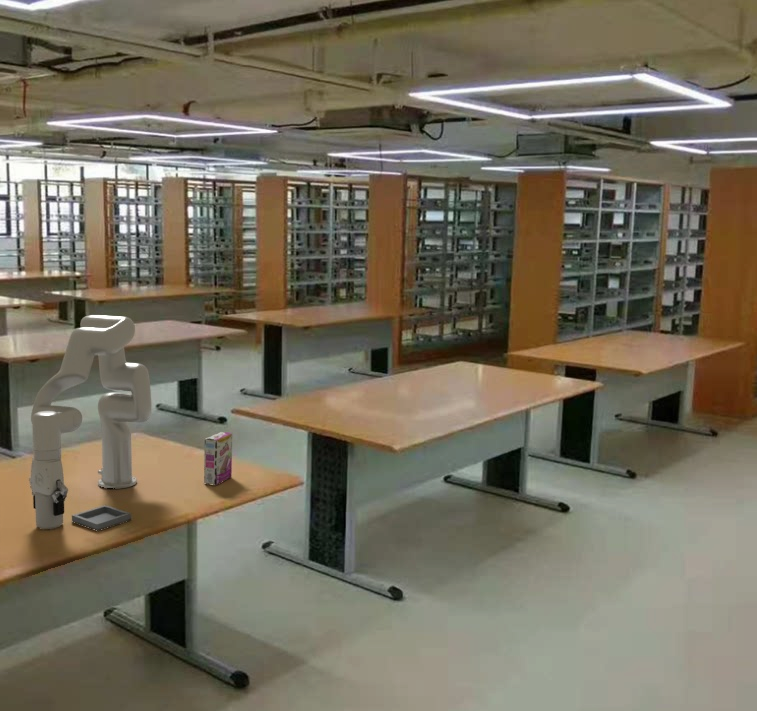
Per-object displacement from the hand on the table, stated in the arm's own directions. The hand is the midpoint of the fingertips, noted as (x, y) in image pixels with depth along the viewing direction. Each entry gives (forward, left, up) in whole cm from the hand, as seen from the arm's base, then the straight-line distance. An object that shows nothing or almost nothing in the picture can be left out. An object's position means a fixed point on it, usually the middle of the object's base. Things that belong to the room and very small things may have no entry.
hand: (48, 511), depth 243 cm
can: (-1, +1, -5) cm, 5 cm away
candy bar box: (+6, +62, -5) cm, 63 cm away
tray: (+8, +12, -5) cm, 15 cm away
